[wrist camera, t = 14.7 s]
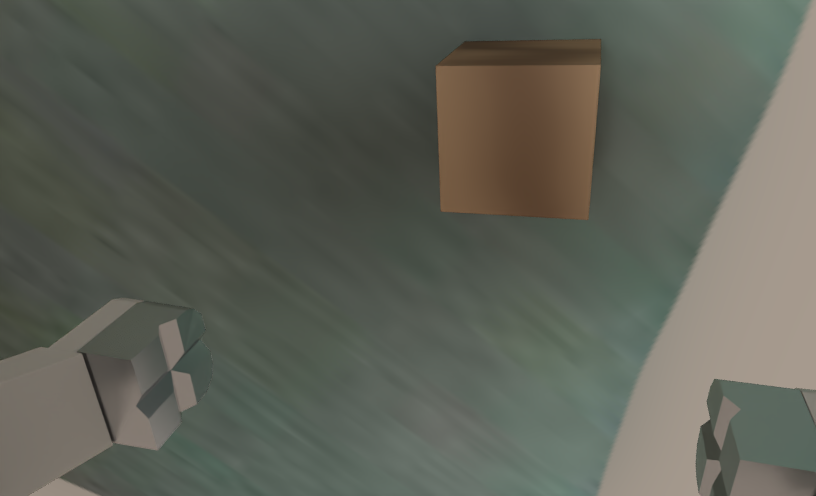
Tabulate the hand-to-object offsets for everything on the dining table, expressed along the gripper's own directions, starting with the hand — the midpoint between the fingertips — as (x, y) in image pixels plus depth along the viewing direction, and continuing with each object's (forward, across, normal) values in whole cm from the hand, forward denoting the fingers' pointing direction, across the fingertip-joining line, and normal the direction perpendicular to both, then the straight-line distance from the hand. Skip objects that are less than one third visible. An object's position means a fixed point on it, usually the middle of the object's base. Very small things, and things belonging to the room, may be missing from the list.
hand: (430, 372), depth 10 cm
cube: (+17, 0, 0) cm, 17 cm away
